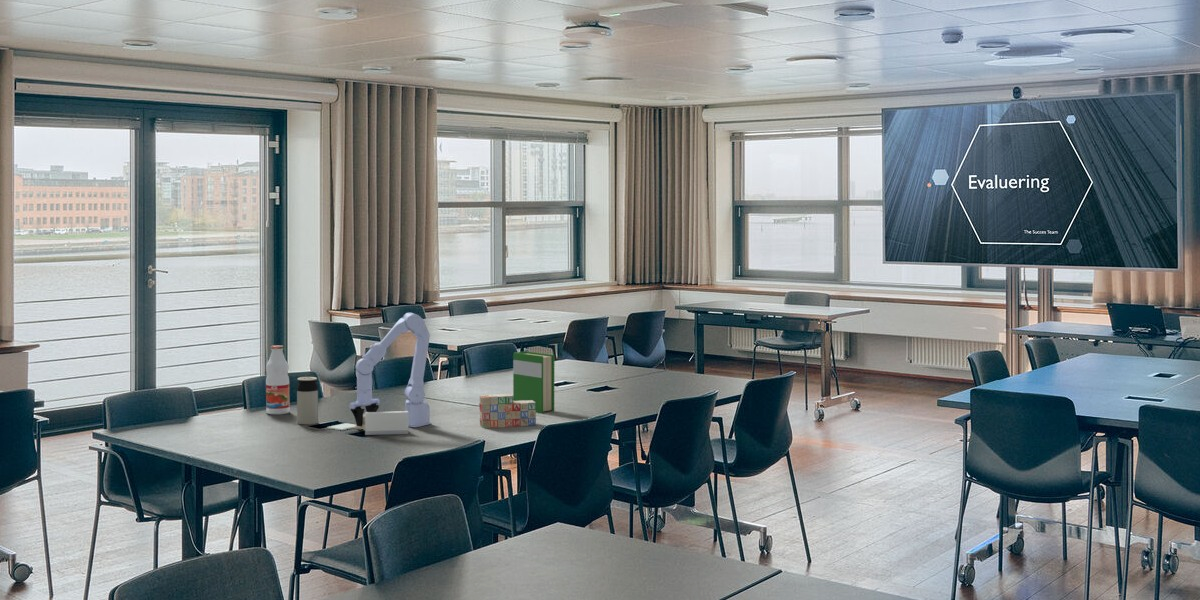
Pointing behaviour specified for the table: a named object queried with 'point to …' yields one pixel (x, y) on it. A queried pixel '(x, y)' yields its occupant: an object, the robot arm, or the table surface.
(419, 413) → the robot arm
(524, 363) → the hardback book
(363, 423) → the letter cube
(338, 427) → the sage pad
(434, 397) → the table surface
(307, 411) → the travel mug
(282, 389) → the fruit juice
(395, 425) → the divider screen
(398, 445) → the table surface
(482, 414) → the stack of blocks
